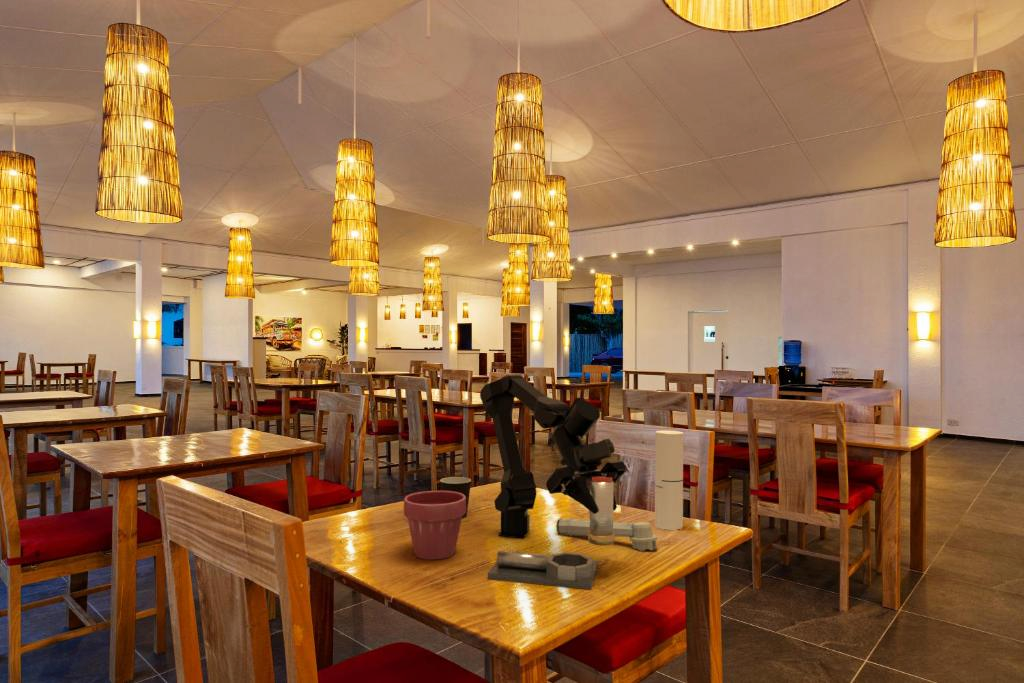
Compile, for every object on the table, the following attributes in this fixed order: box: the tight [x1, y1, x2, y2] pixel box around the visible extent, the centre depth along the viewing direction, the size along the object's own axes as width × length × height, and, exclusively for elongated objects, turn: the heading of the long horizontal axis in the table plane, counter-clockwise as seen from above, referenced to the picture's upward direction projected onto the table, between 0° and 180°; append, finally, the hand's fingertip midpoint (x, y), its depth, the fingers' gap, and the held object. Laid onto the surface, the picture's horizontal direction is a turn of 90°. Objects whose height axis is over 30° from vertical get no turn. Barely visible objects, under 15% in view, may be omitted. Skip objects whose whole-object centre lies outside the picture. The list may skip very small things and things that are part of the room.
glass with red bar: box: [587, 476, 615, 547], centre depth 126 cm, size 5×5×13 cm
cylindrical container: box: [654, 429, 684, 531], centre depth 161 cm, size 7×7×25 cm
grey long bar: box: [555, 517, 658, 552], centre depth 148 cm, size 5×7×25 cm
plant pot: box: [403, 490, 466, 560], centre depth 138 cm, size 14×14×13 cm
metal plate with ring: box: [487, 550, 599, 590], centre depth 126 cm, size 21×13×4 cm, turn 76°
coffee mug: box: [439, 476, 472, 519], centre depth 170 cm, size 12×9×10 cm
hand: (605, 511), depth 125 cm, fingers closed on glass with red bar, 5 cm apart
